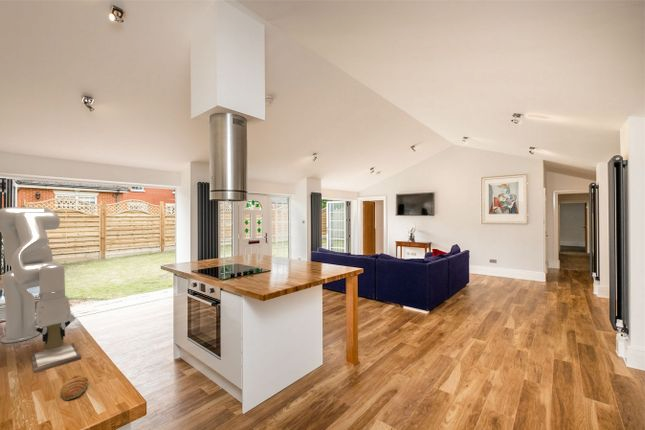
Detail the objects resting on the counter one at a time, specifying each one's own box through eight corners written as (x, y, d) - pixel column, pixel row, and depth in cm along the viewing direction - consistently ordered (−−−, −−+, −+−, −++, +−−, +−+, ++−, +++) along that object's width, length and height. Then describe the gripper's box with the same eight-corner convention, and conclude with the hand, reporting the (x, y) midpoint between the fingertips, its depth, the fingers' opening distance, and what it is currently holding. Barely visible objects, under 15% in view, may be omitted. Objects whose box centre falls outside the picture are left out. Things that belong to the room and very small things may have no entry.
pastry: (87, 396, 91) (86, 384, 91) (58, 405, 87) (57, 392, 87) (88, 382, 99) (87, 371, 98) (61, 390, 94) (61, 378, 94)
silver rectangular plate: (31, 356, 117) (30, 353, 117) (73, 345, 127) (73, 342, 127) (34, 372, 105) (34, 369, 105) (81, 358, 114) (81, 355, 114)
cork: (51, 350, 115) (50, 322, 115) (39, 349, 116) (38, 321, 116) (67, 343, 121) (67, 316, 121) (56, 342, 122) (55, 315, 122)
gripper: (24, 302, 109) (25, 351, 110) (81, 292, 122) (82, 336, 122) (22, 298, 114) (23, 345, 114) (77, 289, 127) (78, 331, 127)
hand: (54, 340), depth 118 cm, fingers closed on cork, 3 cm apart
